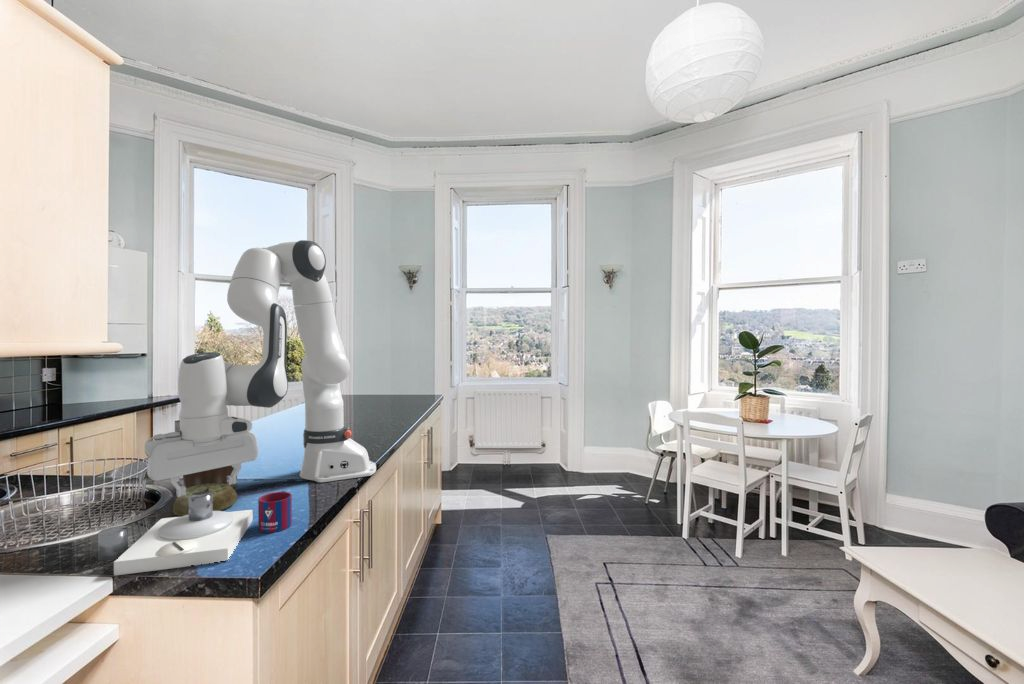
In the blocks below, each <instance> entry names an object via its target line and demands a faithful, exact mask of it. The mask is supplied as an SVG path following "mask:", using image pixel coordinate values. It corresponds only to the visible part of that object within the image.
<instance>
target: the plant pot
mask: <svg viewBox="0 0 1024 684" xmlns="http://www.w3.org/2000/svg"><path fill="white" fill-rule="evenodd" d="M233 469H234V468H233V467H232V465H230V466H225V467H221V468H216V469H211V470H206V471H201V472H197V473H192V474H187V475H182V477H183V478H182V480H183V486H185V487H186V489H187V488H189V487H192V486H196V485H201V484H208V483H223V484H227V476H230V475H231V473H232V471H233ZM237 482H238V475H237V476H236V484H232V485H230V486H231V487H233V489H234V488H235V487H237Z"/></svg>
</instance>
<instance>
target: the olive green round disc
mask: <svg viewBox="0 0 1024 684" xmlns="http://www.w3.org/2000/svg"><path fill="white" fill-rule="evenodd" d="M202 491H211V492H213V511H225V510H226V509H229V508H230V507H231V506H233V505H234V504H235V503H236V502H237V501H238V493H237V492H236V489H234V488H233V487H231V486H230V485H228V484H223V483H208V484H201V485H196V486H192V487H189V488H187V489H186V495H185V496H181V497H177V496H176V498H175V500H174V502H173V506H172V512H173V514H174V515H175V516H177V517H180V516H181V517H182V516H185V515H189V504H188V496H189V495H191V494H193V493H197V492H202Z"/></svg>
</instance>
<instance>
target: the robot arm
mask: <svg viewBox="0 0 1024 684" xmlns="http://www.w3.org/2000/svg"><path fill="white" fill-rule="evenodd" d="M326 264H327V260H326V255H325V252H324V250H323V249H322V247H321V246H320V245H319V244H318V243H317V242H316V241H313V240H303V239H302V240H298V241H288V242H280V243H278V244H274V245H270V246H267V247H252V248H248V249H247V250H245V251H244V252H243V253H242V255H241V256H240V258H239V260H238V262H237V264H236V266H235V268H234V271H233V274H232V276H231V279H230V283H229V287H228V289H227V295H226V296H227V297H226V300H227V304H228V307H229V309H230V310H231V311H232V312H233V313H234V314H235V316H237V317H239V318H240V319H241V320H243V321H246V322H247V323H250V324H252V325H255V326H258V327H260V328H261V330H262V331H263V333H262V334H263V335H262V338H263V339H262V353H261V354H262V356H261V361H260V362H258V363H256V364H248V365H247V364H243V365H241V364H233V363H230V362H228V361H225V360H224V358H223V355H222V354H221V353H218V352H212V351H211V352H210V351H209V352H201V353H200V352H199V353H194V354H190V355H187V356H185V357H184V358H183V359H182V360H181V362H180V365H179V368H178V370H179V371H178V376H177V377H178V378H177V385H178V386H177V391H178V392H177V393H178V398H179V401H180V411H179V415H178V416H179V420H180V431H176V432H175V431H171V432H167V433H158V434H155V435H153V436H152V437H150V438H149V439H148V440H146V442H145V444H144V452H145V455H146V456H147V458H148V459H147V467H146V471H147V472H146V474H147V476H148V478H149V479H151V480H152V481H154V482H158V481H161V480H162V481H163V480H167V479H168V480H169V482H170V484H172V486H173V487H174V488H175V491H176V492H175V493H176V498H177V497H181V496H185V495H186V487H185V486H184V485H179V484H178V482H180V477H181V476H182V477H183V475H187V474H192V473H197V472H201V471H206V470H211V469H216V468H221V467H225V466H230V465H232V467H233V468H234V469H233V471H232V473H231V475H230V476H227V484H228V485H232V484H236V476H237V477H238V475H239V473H240V471H241V470H242V464H245V463H250V462H254V461H256V460H257V458H258V457H259V445H258V440H257V439H258V438H257V436H256V434H255V433H254V432H253V431H252V429H253V423H252V421H250V420H248V419H246V418H243V417H236V416H229V410H228V406H232V407H233V406H234V407H238V406H239V407H240V406H241V407H242V406H243V407H246V406H247V407H257V408H267V409H268V408H269V409H270V408H272V407H275V406H276V405H277V404H279V403H280V402H281V401H282V400H283V399H284V398H285V397H286V395H287V393H288V390H289V389H288V388H289V380H288V372H287V343H288V342H287V341H288V324H287V315H286V310H284V308H283V307H282V306H281V305H280V304H279V301H278V300H279V299H278V296H279V292H280V286H281V284H290V286H291V291H292V302H293V309H294V313H295V319H296V324H297V330H298V334H299V336H300V339H301V342H302V344H303V348H304V352H305V354H304V356H303V357H302V359H301V362H300V363H301V364H300V365H301V379H302V380H301V381H302V388H303V395H304V396H303V397H304V408H305V409H304V412H305V413H304V415H305V417H304V418H305V419H304V421H305V422H304V423H305V424H304V425H305V426H304V427H305V428H304V430H303V432H302V433H303V435H302V436H303V441H302V442H303V448H304V451H303V460H302V464H301V469H300V472H299V477H300V478H301V479H303V480H309V481H315V482H316V483H327V482H335V481H342V480H348V479H349V480H350V479H354V478H355V479H356V478H363V477H369V476H372V475H374V474H375V473H376V472H377V464H376V463H375V462H374V461H371V460H370V457H369V453H368V451H367V449H366V448H365V447H364V446H363V445H362V444H360V443H358V442H356V441H355V440H354V439H352V438H351V436H352V431H351V429H350V427H346V426H345V425H344V424H345V423H344V422H345V421H344V420H345V419H344V409H345V408H344V407H345V406H344V405H345V404H344V399H343V395H342V390H341V383H342V382H343V381H344V380H346V379H347V378H348V376H349V373H350V369H351V365H350V361H349V359H348V357H347V355H346V351H345V347H344V344H343V341H342V337H341V335H340V332H339V328H338V324H337V323H338V322H337V319H336V313H335V307H334V302H333V301H334V300H333V296H332V291H331V288H330V285H329V282H328V279H327V276H326V274H325V270H326ZM236 485H237V484H236Z"/></svg>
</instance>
